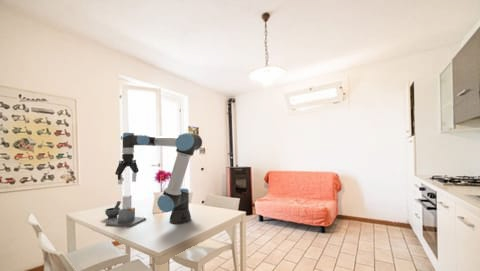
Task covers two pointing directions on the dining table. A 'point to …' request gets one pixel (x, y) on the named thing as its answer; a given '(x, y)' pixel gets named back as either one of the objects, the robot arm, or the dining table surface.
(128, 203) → the column
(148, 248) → the dining table surface
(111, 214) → the mortar and pestle
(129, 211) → the stand
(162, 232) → the dining table surface
